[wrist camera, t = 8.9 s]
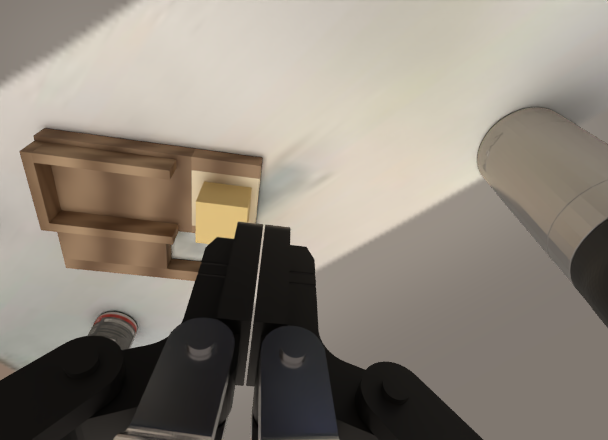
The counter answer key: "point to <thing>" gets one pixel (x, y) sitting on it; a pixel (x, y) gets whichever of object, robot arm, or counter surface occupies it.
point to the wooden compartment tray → (142, 201)
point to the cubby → (46, 154)
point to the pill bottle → (115, 328)
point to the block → (220, 210)
